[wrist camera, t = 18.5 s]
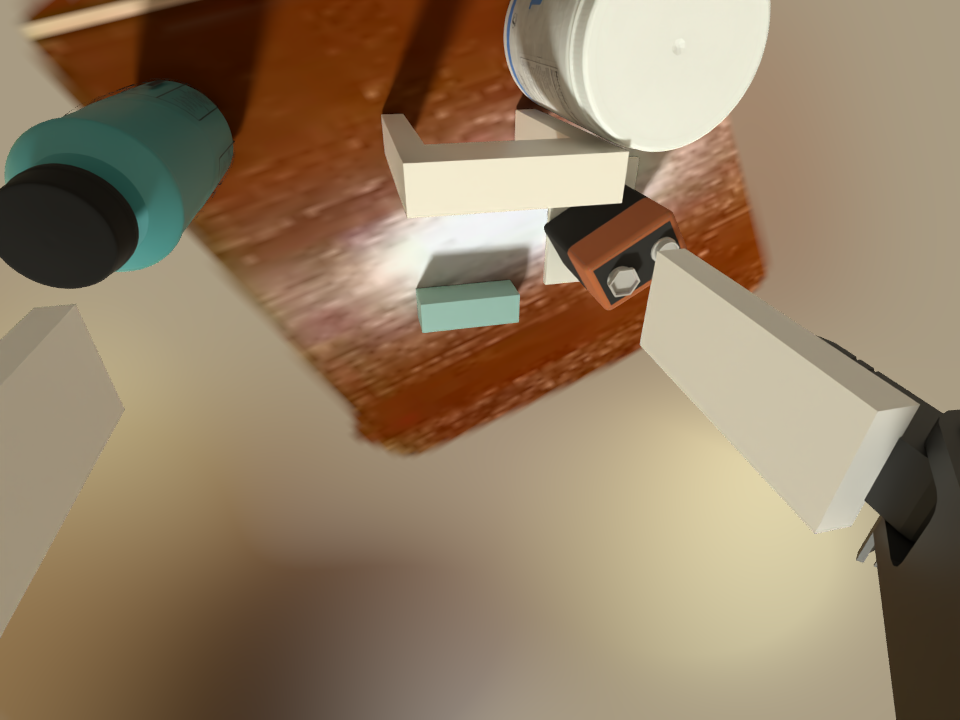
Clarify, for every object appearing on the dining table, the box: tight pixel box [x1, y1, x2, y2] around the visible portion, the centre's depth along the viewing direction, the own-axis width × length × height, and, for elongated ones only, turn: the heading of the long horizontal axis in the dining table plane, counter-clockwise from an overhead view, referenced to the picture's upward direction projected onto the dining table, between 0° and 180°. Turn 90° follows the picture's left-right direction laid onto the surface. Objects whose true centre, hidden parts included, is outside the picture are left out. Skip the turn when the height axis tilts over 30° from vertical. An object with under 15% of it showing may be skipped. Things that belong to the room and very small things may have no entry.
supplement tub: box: [504, 0, 770, 152], centre depth 30 cm, size 10×10×15 cm
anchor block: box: [416, 280, 520, 333], centre depth 44 cm, size 2×8×3 cm, turn 90°
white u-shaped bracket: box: [381, 109, 629, 218], centre depth 32 cm, size 2×11×15 cm, turn 89°
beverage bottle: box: [0, 78, 235, 289], centre depth 26 cm, size 6×7×20 cm
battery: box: [544, 185, 687, 310], centre depth 39 cm, size 4×7×10 cm, turn 121°
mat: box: [543, 157, 639, 285], centre depth 43 cm, size 10×7×1 cm
